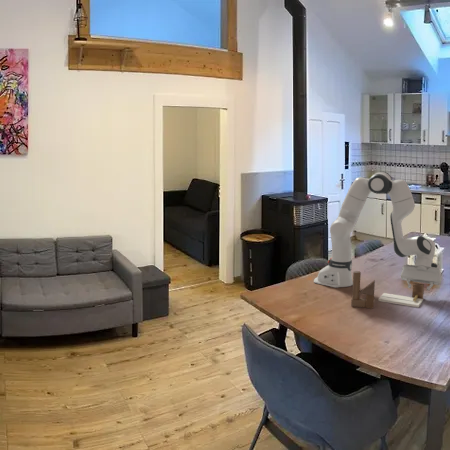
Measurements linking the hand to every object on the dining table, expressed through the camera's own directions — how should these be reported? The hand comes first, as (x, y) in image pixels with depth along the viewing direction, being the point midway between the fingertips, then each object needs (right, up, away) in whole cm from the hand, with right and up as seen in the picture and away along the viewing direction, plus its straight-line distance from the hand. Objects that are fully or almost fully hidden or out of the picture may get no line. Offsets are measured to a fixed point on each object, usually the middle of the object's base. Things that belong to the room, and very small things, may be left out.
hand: (418, 288), depth 271 cm
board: (-10, -6, -3) cm, 12 cm away
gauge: (-2, -6, -3) cm, 7 cm away
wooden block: (-32, -8, -10) cm, 35 cm away
